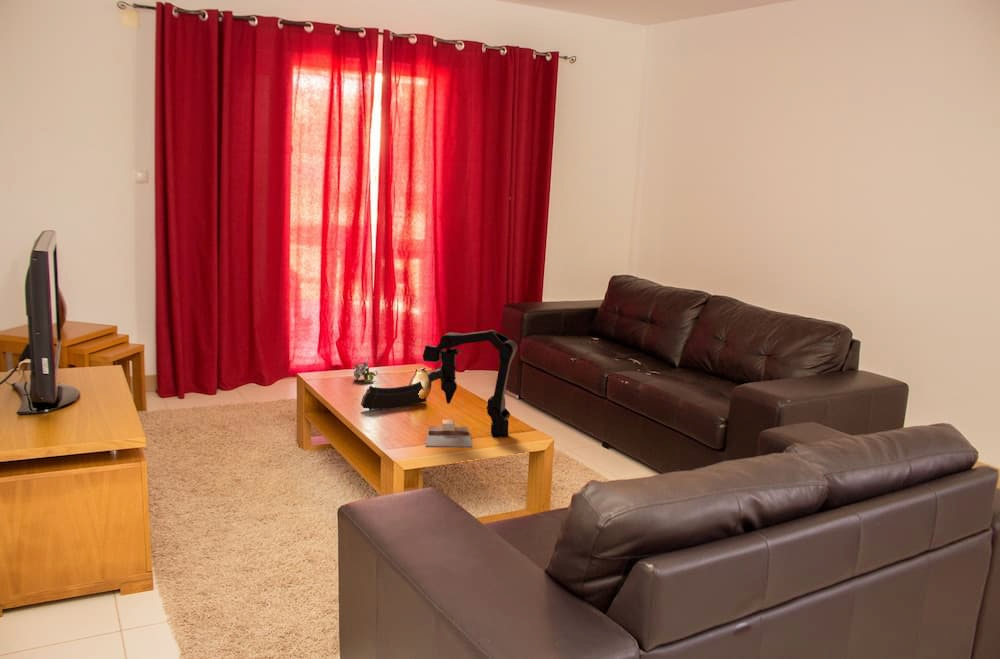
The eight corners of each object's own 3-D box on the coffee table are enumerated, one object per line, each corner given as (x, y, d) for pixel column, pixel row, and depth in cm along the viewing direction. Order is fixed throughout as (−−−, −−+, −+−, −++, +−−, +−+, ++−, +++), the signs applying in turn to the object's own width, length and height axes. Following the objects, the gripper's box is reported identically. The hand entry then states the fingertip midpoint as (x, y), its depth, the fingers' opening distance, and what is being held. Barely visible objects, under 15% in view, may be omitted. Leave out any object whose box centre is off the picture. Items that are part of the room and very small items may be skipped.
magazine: (428, 382, 374) (370, 370, 357) (431, 384, 371) (372, 372, 354) (418, 418, 374) (359, 408, 358) (421, 420, 372) (361, 410, 355)
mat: (470, 436, 331) (470, 435, 331) (471, 447, 319) (471, 446, 319) (426, 435, 330) (426, 434, 330) (425, 446, 317) (425, 445, 317)
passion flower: (356, 391, 406) (348, 369, 409) (377, 385, 410) (369, 363, 413) (360, 383, 396) (352, 361, 399) (381, 377, 401) (373, 355, 404)
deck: (467, 431, 337) (468, 426, 337) (468, 436, 331) (468, 431, 331) (428, 430, 336) (429, 426, 335) (428, 435, 330) (428, 430, 330)
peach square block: (454, 426, 336) (454, 419, 335) (454, 430, 331) (455, 423, 330) (442, 426, 335) (442, 419, 335) (442, 430, 331) (442, 423, 330)
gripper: (428, 358, 343) (428, 393, 346) (428, 369, 325) (428, 407, 328) (455, 358, 344) (454, 393, 347) (457, 369, 326) (456, 406, 329)
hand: (447, 400), depth 338 cm, fingers open, 9 cm apart
